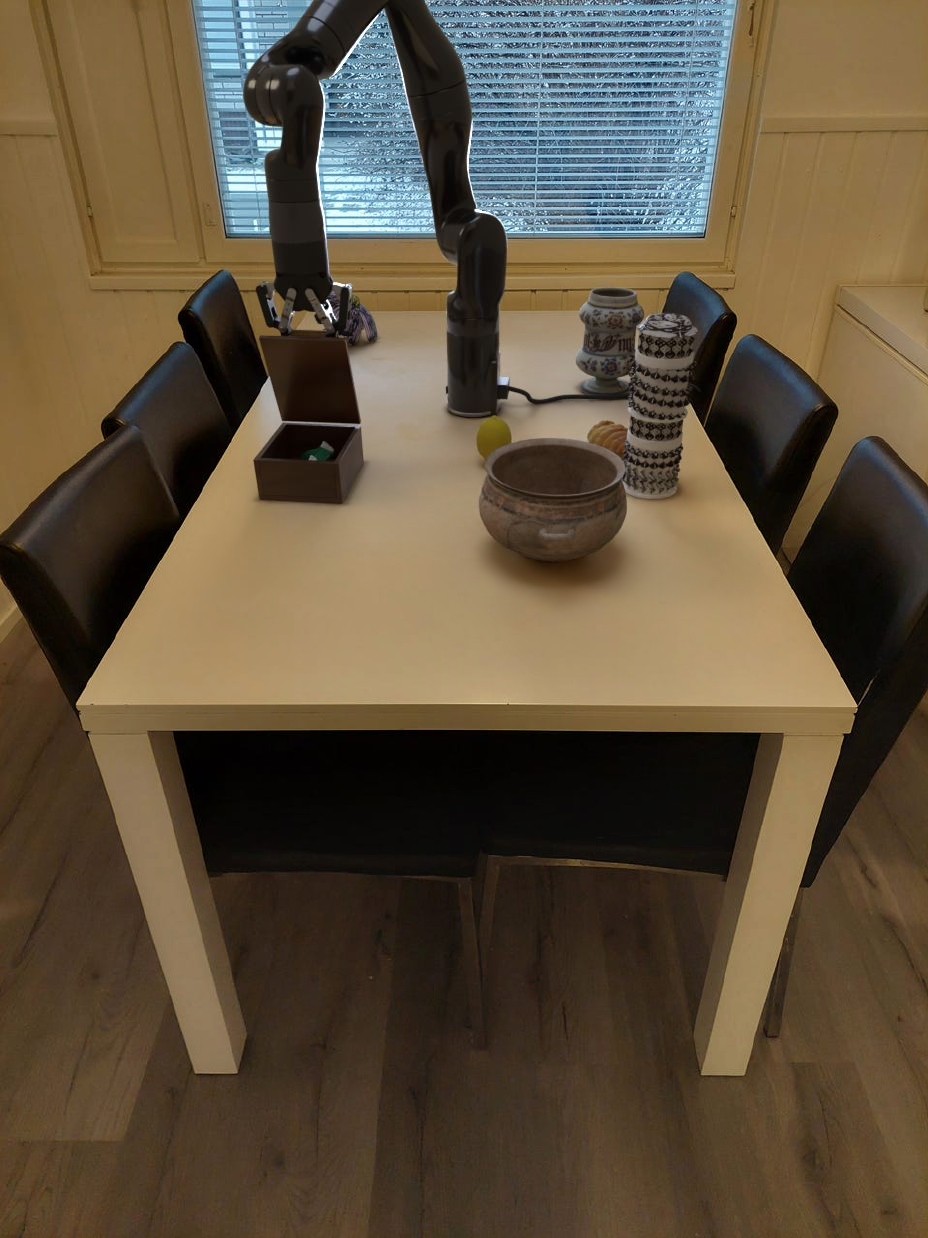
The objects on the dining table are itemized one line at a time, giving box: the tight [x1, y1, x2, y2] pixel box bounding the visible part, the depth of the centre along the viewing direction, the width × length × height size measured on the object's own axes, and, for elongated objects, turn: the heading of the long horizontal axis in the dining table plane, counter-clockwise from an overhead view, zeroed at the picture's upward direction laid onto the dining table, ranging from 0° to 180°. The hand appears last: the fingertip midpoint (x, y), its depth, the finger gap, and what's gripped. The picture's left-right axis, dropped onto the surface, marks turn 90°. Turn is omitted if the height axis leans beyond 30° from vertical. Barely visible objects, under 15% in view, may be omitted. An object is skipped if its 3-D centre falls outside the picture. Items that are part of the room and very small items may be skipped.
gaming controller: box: [301, 441, 335, 461], centre depth 134 cm, size 9×4×6 cm
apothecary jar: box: [574, 286, 645, 394], centre depth 163 cm, size 12×12×18 cm
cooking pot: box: [478, 437, 628, 564], centre depth 113 cm, size 25×19×12 cm
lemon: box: [475, 415, 513, 461], centre depth 138 cm, size 6×6×8 cm
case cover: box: [258, 328, 362, 425], centre depth 133 cm, size 15×13×5 cm
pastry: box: [587, 419, 629, 460], centre depth 143 cm, size 9×7×4 cm
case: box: [252, 421, 365, 504], centre depth 134 cm, size 15×13×6 cm
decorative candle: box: [621, 312, 699, 500], centre depth 126 cm, size 9×9×25 cm
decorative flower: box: [313, 291, 378, 347], centre depth 194 cm, size 15×12×15 cm
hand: (311, 355), depth 130 cm, fingers closed on case cover, 5 cm apart
